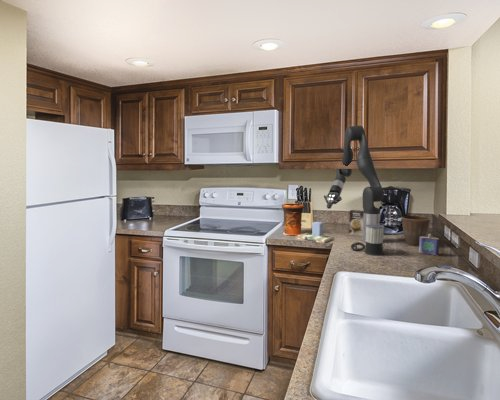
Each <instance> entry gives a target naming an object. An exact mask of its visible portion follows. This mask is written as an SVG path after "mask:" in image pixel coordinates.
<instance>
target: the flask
mask: <svg viewBox="0 0 500 400" xmlns="http://www.w3.org/2000/svg"><path fill="white" fill-rule="evenodd" d="M439 251H440V239H439V237H435V236H432V234H431V233H428V234H427V236H425V237H420V242H419V246H418V253H419V254H420V253H422V254H421V255H426V254H431V255H430V256H433V255H438V256H439Z"/></svg>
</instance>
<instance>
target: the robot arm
mask: <svg viewBox="0 0 500 400" xmlns="http://www.w3.org/2000/svg"><path fill="white" fill-rule="evenodd" d="M366 136H367V135H366V131H365V128H364V127H363V126H362V125H352V126H351V125H350V126H347V127H346V129H345V132H344V142H343V154H342V156H341V161H342V163H343V165H345V166H348V165H349V164H350V163H351V162H353V160H354V154H355V153H354V151H353V149H352V147H351V142H354V141H356V142H357V141H358V144H359V149H358V151H357V154H356V158H355V161H356V162H355V163H356V166H357V169H358V171H359V172H360V173H361V175H363V177H364V178H365V179H366V180H367V182H368V183H369V186H366V187H365V188H364V189H363V190H362V209H363V210H362V211H364V216H363V236H362V242H365V243H366V225H369V224H376V225H380V218H381V217H380V216H381V209H380V208H378V207H376V206H375V203H377V202H379V203H380V202H381V201H383V200H384V199H385V198H384V197H385V194H384V193H385V192H384V189H383V187H382V185H381V182H380V180H379V178H378V175H377V172H376V168H375V165H374V162H373V158H372V156H371V153H370V149H369V145H368V140H367V137H366ZM352 159H353V160H352ZM342 163H341V164H342ZM352 173H353V168H352V169H337V168H336V176H335V179H334V181H333V182H332V184H331V186H330V189H329V192H328V193H327V195H324V194H323V198H324V201H325V202H326V209H327V210H328V209H329V210H330V209H332V207H333V205H337V204H338V203H339V202H341V201H342V199H343V198H342V196H341V194H342V191H343V190H344V185H345V183H346V181H347V178H348V177H351V176H352Z"/></svg>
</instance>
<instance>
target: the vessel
mask: <svg viewBox="0 0 500 400" xmlns="http://www.w3.org/2000/svg"><path fill="white" fill-rule="evenodd" d="M281 208H282V212H283V224H284V226H283V227H284V231H283V232H282V233H283V235H288V236H298V235H301V234H303V233H302V218H303V216H302V214H303V210H304V204H301V203H296V202H295V203H283V204H281Z"/></svg>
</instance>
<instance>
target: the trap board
mask: <svg viewBox="0 0 500 400" xmlns="http://www.w3.org/2000/svg"><path fill="white" fill-rule="evenodd" d="M297 240H302V241H310V242H316V243H321V244H325V243H328V242H331V241H333V240H334V237H333V236H332V235H330V236H328V237H325V235H324V234H323V235H322V236H313V235H312V234H309V232H305V233H302V234H301V235H297Z"/></svg>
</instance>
